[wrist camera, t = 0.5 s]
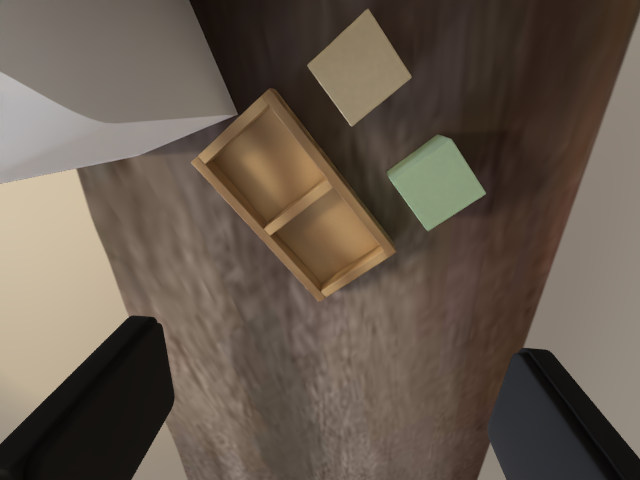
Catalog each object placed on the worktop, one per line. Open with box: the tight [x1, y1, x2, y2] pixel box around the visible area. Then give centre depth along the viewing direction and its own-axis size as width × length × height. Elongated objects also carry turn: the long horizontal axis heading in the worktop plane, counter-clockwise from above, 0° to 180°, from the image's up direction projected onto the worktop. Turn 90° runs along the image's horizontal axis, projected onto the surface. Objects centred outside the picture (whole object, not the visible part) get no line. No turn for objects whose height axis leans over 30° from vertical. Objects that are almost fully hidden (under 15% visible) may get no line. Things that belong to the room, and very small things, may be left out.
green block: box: [386, 134, 486, 231], centre depth 31 cm, size 6×6×4 cm
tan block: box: [307, 9, 412, 126], centre depth 28 cm, size 6×6×4 cm
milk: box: [0, 0, 238, 184], centre depth 19 cm, size 12×12×26 cm
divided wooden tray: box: [191, 88, 397, 302], centre depth 34 cm, size 10×20×3 cm, turn 39°
